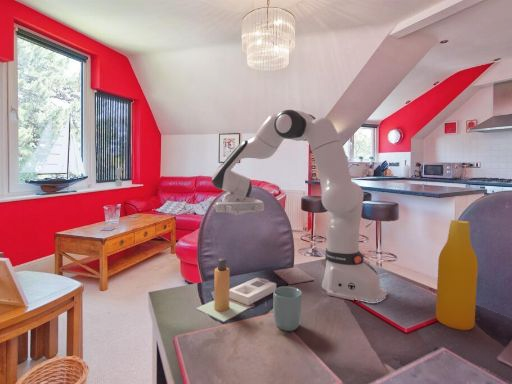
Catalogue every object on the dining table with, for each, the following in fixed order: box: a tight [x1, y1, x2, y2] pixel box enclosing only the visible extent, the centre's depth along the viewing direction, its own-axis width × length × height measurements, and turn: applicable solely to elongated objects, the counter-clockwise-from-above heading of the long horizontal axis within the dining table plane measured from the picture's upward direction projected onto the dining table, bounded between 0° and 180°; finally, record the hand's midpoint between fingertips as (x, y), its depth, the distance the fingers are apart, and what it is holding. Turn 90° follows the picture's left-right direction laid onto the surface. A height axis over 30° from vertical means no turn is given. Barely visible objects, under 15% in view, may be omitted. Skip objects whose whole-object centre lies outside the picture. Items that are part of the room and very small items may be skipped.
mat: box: [195, 300, 248, 323], centre depth 89 cm, size 12×10×1 cm
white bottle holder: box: [229, 277, 277, 306], centre depth 100 cm, size 15×9×4 cm, turn 141°
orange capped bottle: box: [213, 258, 231, 312], centre depth 89 cm, size 4×4×15 cm
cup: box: [272, 285, 303, 332], centre depth 81 cm, size 8×8×10 cm
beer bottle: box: [435, 219, 479, 331], centre depth 83 cm, size 9×9×29 cm
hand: (244, 208), depth 115 cm, fingers open, 8 cm apart
